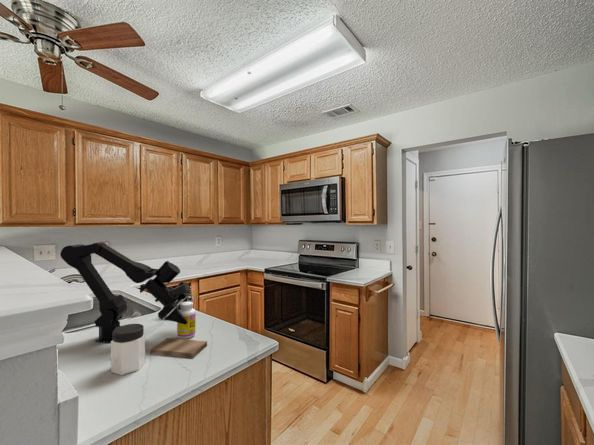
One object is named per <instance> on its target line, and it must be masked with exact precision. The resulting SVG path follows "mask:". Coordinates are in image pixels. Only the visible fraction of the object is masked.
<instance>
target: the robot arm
mask: <svg viewBox="0 0 594 445" xmlns="http://www.w3.org/2000/svg"><path fill="white" fill-rule="evenodd" d="M92 254H95V255H97V256H99V257H101V258H102V259H103V260H105V261H107V262H108V263H110V264H112V265H113V266H114V267H115V266H116V267H117V268H119V269H120V270H122V271H123V272H124V273H125V275H126V277H128V279H130V280H131V281H132V282H134V283H135V284H140V285H139V287H140V288H139V293H143V292H144V291H147V292H148V293H149V294H150V295H152V297H153V298H155V299H154V302H156V303H158V302H159V303H160V304H161V305H162V306H163V307H162V308H161V310H160V311H158V313H157V317H158V318H159V319H160V320H162V321H163V320H164V321H170V322H174V323H177V322H178V323H181V324H185V325H186V324H187V323H188V322H187V320H186V319H185V318H184V317H183V315H182V314H181V313H180V312H179V310H180V309H181V308H180V303H182V302H188V297H189V296H188V297H187V298H185V297H186V296H187V295H188V292H189V291H190V290H191V289H190V287H189V286H190V284H189V283H188V282H186V281H185V280H183V281H180V282H179V283H178V285H177V286H176V287H173V286H169V287H168V285H166V283H167V284H170V283H171V282H172V281H173V280H174V279H175V278H176V277H177V276H179V274H180V273H181V269H180V268H179V267H178V266H177V265H176V264H174V263H172V262H170V261H169V260H167V261H165V262H163V264H162V265H161V266H160V267H159V268H152V267H151V266H150V265H147V264H144V263H142V262H138V261H135V260H132V259H131V258H129V257H128V256H125V255H124V254H122V253H120V252H119V251H117V250H115V249H114V248H112V247H111V246H110V245H108V244H107V243H105V242H103V241H100V242H99V241H98V242H93V243H92V244H86V245H85V244H82V243H79V244H72V245H66V246H64V247H63V248H62V249H61V250H60V254H59V255H60V258H61V259H62V261H64V262H65V263H66V264H67V265H68V266H70V267H71V268H73V269H75V270H77V272H78V273H79V274H80V277H81V278H82V279H83V280H84V282H85V284H87V286H88V288H89V289H90V291H91V292H92V294H93V295H94V296H95V298H96V299H97V301H98V308H99V309H98V310H99V312H100V315H99V317H97V318H96V320H94V324H95V327H96V328H98V338H96V339H95V341H94V342H97V343H108V344H109V343H110V344H111V341H112V340H113V338H112V334H113V330H114V329H116V328H118V327H120V326H121V321H119V320H120V319H123V316H124V314H126V313H127V310H128V306H127V304H128V302H127V301H126V300H125V299H124V297H123V295H122V294H119V295H118V296H117V295H115V294H114V293H113V292H112V291H111V289H110V287H109V286H108V285H107V284H106V282H105V280H104V279H103V277H102V275H100V273H99V272H98V270H97V269H96V267H95V266H94V264H93V263H92ZM151 278H152V279H151ZM146 281H147V282H146ZM144 282H145V283H144ZM141 283H142V284H141ZM176 306H177V307H176Z"/></svg>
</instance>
